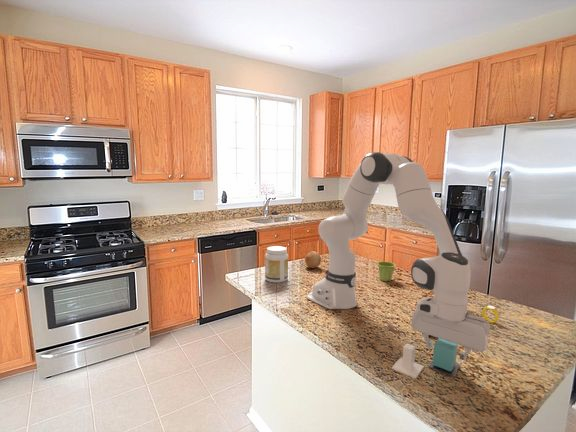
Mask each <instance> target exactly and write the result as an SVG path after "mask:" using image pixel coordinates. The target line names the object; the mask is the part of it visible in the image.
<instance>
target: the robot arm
mask: <svg viewBox="0 0 576 432" xmlns="http://www.w3.org/2000/svg"><path fill="white" fill-rule="evenodd" d="M380 185H393V187H394V190H395V197H396V202H397V206H398V210H399V212H400V214H401V215H402V216H403V218H406V219H407V220H408V221H412V222H414V223H416V224H419V225H421V226H423V227H426V228H427V229H428V230H429V231H431V233H432V234H433V236H434V240H435V242H436V245H437V247H438V250H439V255H435V256H432V257H421V258H417V259H416V260H415V261H414V262H413V263H412V265H411V267H410V269H411V270H410V275H411V279H412V282H413V283H414V284H415V285H416V286H417V287H418V288H419V289H423V290H427V291H431V292H433V293H434V296H433V297H432V296H430V297H429V296H427V297H423V298H421V299H420V300H418V302H417V303H416V306H415V307H416V310H414V312H412V313H413V314H412V316H411V317H412V318H411V324H410V327H411V328H412V329H413V331H415V332H416V331H417V332H419V333H422V337H423V339H424V341H425V347H426V348H427V349H432V348H433V343H434V342H433V340H430V339H431V338H430V337H435V338H437V339H438V338H440V339H443V340H446V341H449V342H452V343H455V344H458V345H459V346H462V347H465V348H464V350H465V351H461V352H460V353H459V360H461V361H465V362H466V360H467V359H468V358H467V356H468V355H469V353H471V352H472V350H474V351H476V352H480V353H483V352H484V351H486V350H487V348H488V340H489V339H488V338H489V337H488V335H489V334H490V332H491V324H490V322H489V321H487V320H485V319H484V317H483V316H482V317H480V316H476V315H473V314H471V313H467V312H468V303H469V300H468V299H469V298H468V292H469V290H470V288H471V287H470V285H471V264H470V262H469V260H468V259H467V258H466V257H465V256H463V254H462V252H461V250H460V247H459V244H458V241H457V238H456V236H455V233H454V231H453V228H452V226H451V224H450V221H449V219H448V217H447V215H446V213H445V212H444V211H443V210H442V209H441V208H440V206H439V205H438V203H437V202H436V200H435V198H434V195H433V191H432V188H431V187H432V186H431V185H430V181H429V178H428V175H427V173H426V170H425V168H424V167H423V165H422V164H420V163H419V162H416V161H414V160H413V159H411V158H409V157H407V156H404V155H402V156H401V155H398V154H396V153H395V154H394V153H387V152H385V153H384V152H383V153H382V152H379V151H377V152H369V153H367V154H366V155H365V156H364V157H363V158H362V160H361V163H359V165H357V168H356V169H355V171H354V172H353V174H352V176H351V178H350V180H349V182H348V184H347V187H346V189H345V191H344V194H343V196H342V200H341V201H342V204H343V206H344V211H343V213H342V214H341V215H333V216H329V217H326V218H324V219H322V220H321V221H320V223H319V225H318V228H317V229H318V236H319V237H320V238H321V240H322V241H323V242H324V243H325V245H326V246H327V249H328V255H329V256H328V257H329V264H328V267H329V268H328V269H327V270H326V271H324V272H323V275H325V277H324V278H322V279H320V280H319V281H317V282H315V284H313V286H312V291H311V292H309V293H308V294H307V297H306V299H308V300H310V301H311V302H313V303H316V304H318V305H320V306H322V307H324V308H326V309H328V310H338V309H339V310H347V309H348V310H349V309H353V308H355V307H356V306H357V305H358V302H357V297H356V290H355V289H356V288H355V286H356V278H357V277H356V254H355V252H354V251H352V250H351V248H350V241H351V240H355V239H358V238H361V237H363V236H364V235H366V233H367V232H368V231H369V230H368V229H369V223H368V220H367V213H368V210H369V207H370V205H371V203H372V201H373V199H374V196H375V194H376V192H377V191H378V188H379V186H380ZM428 335H431V336H428Z"/></svg>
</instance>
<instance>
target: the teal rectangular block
mask: <svg viewBox="0 0 576 432" xmlns="http://www.w3.org/2000/svg"><path fill="white" fill-rule="evenodd" d="M458 345H459V344H455V343H452V342H449V341H446V340H443V339H440V338H437V340H436V341H435V342H434V344H433V353H432V354H433V355H432V360H433V363H432V365H435V366H438V367H440V368H443V369H445V370H448V371H452V370H453V368H454V366H455V364H457V354H458V347H459V346H458Z"/></svg>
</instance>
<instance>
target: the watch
mask: <svg viewBox="0 0 576 432" xmlns="http://www.w3.org/2000/svg"><path fill="white" fill-rule="evenodd" d="M486 310H490V311H492V312H493V313H494V319H493V320H492V319H490V318H488V316H487V314H486ZM481 313H482V318H484V319H485V320H486V321H488V322H489V323H491V324H493V323H497V321H498V320H499V313H498V311H497V310H496V307H495V306H493V305H486V306H485V307H483V309H482V312H481Z"/></svg>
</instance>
